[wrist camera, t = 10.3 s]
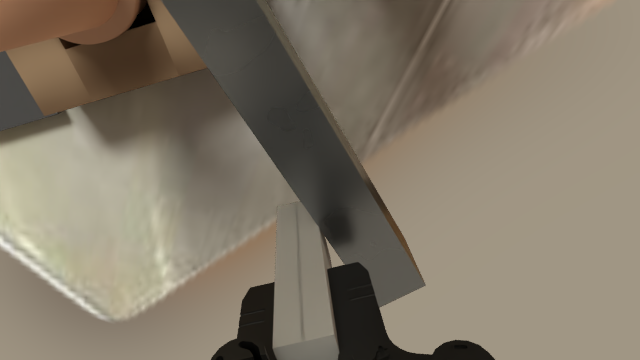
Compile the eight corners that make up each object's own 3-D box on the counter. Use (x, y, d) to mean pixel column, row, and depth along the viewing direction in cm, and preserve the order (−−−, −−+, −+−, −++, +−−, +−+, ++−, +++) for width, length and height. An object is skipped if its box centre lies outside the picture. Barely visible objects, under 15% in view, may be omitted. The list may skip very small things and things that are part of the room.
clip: (345, 266, 18) (356, 318, 15) (73, -124, 11) (6, -157, 9) (421, 229, 17) (446, 275, 14) (180, -207, 11) (143, -270, 8)
